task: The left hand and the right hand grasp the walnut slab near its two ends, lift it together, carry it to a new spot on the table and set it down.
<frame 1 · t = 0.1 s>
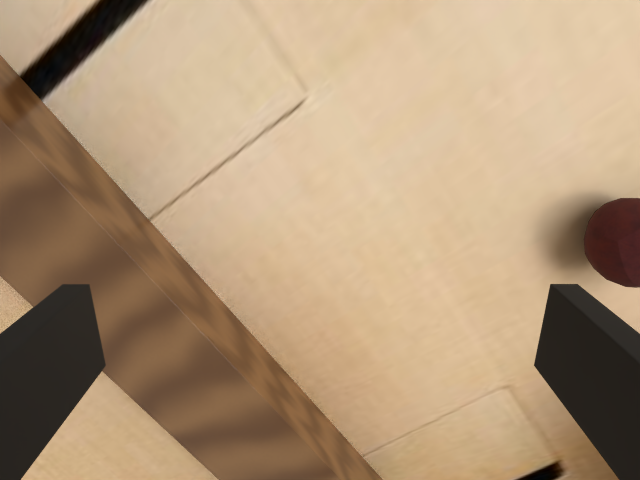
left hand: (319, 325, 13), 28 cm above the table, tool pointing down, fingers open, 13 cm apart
slab: (116, 253, 42), on the table
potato: (606, 227, 41), on the table
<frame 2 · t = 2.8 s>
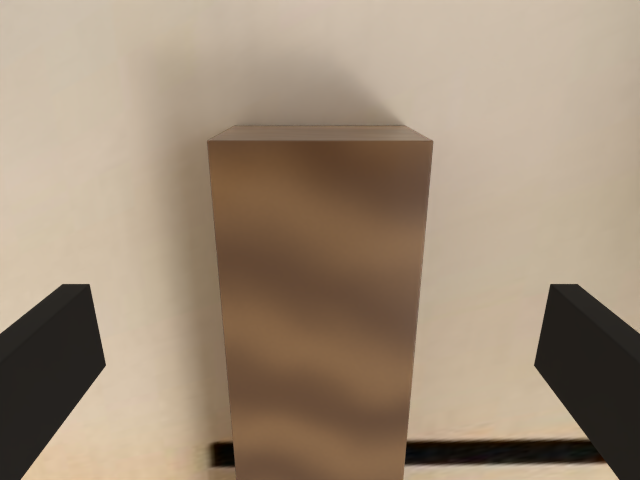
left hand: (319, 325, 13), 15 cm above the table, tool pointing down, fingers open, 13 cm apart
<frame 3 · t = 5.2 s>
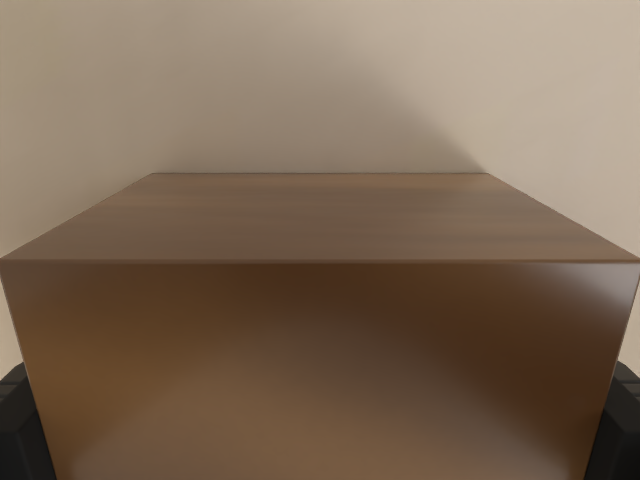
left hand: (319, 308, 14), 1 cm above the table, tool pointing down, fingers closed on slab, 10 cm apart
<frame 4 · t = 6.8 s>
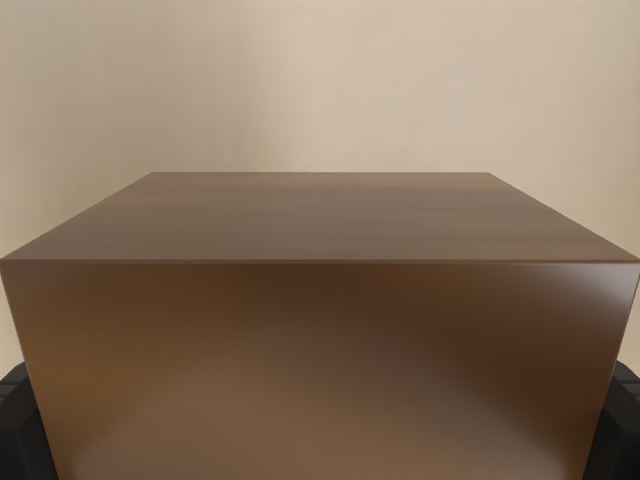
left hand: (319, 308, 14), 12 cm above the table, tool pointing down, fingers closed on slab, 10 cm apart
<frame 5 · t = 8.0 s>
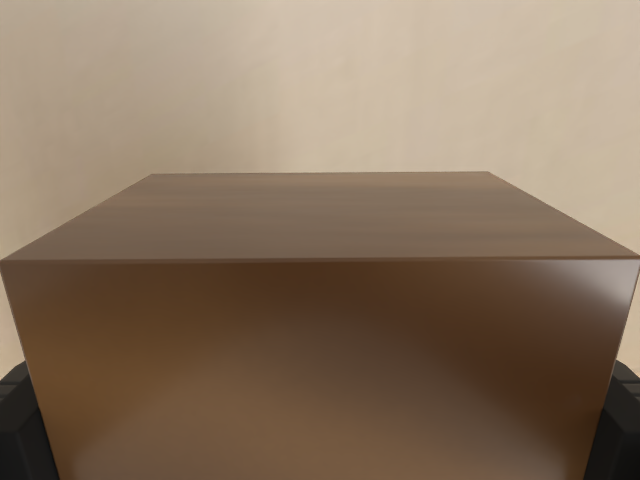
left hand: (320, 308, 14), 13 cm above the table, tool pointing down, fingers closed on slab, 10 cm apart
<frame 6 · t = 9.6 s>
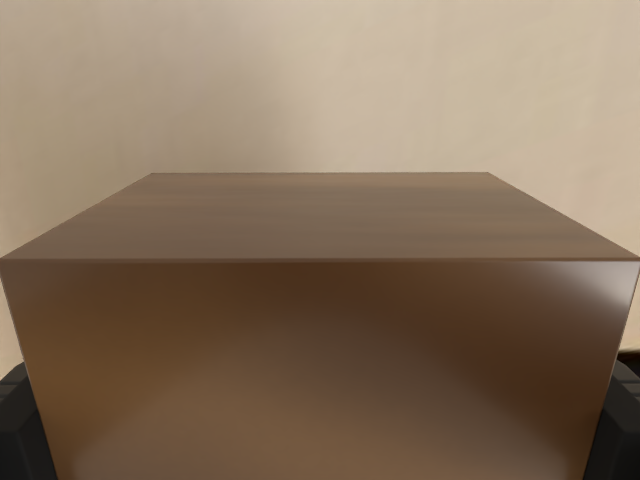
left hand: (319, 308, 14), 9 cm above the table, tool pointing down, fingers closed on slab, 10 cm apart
when the left hand's fingers open (1 cm above the table, at t = 11.0 s): slab stays where it is, on the table.
when the right hand's fingers open (1 cm above the table, at t = 11.0 s): slab stays where it is, on the table.
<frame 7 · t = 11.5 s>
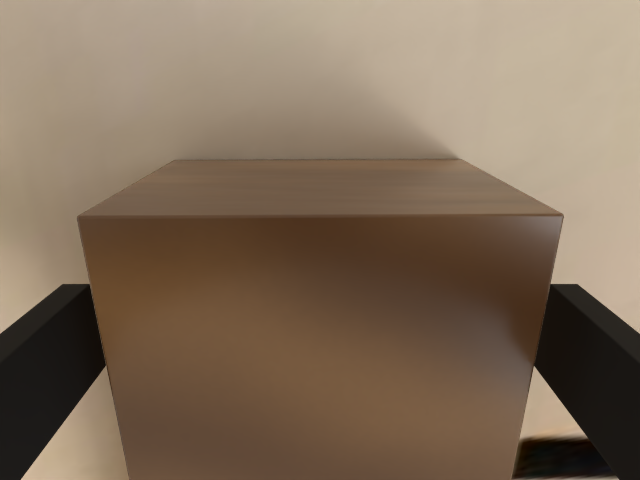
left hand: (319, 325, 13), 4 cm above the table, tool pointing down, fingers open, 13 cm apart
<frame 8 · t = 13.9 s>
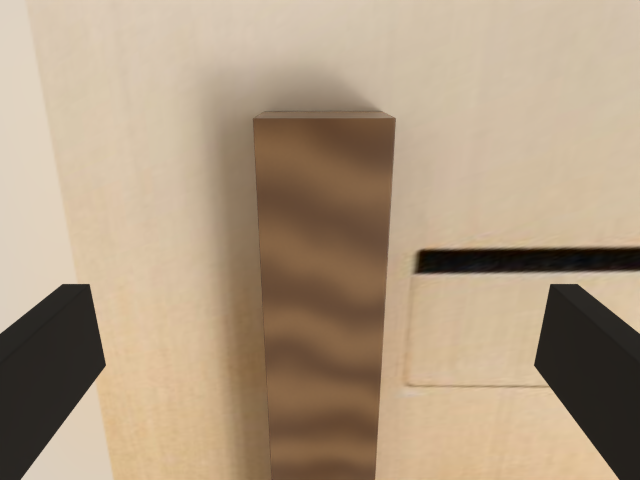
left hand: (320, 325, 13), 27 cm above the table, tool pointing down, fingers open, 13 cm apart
slab: (322, 471, 50), on the table
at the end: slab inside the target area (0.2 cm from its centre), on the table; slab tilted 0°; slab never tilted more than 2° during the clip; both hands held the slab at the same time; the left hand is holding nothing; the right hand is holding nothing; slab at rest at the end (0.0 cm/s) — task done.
